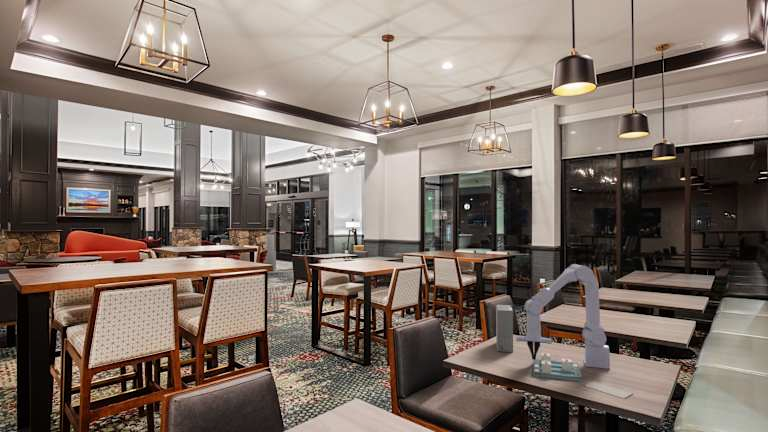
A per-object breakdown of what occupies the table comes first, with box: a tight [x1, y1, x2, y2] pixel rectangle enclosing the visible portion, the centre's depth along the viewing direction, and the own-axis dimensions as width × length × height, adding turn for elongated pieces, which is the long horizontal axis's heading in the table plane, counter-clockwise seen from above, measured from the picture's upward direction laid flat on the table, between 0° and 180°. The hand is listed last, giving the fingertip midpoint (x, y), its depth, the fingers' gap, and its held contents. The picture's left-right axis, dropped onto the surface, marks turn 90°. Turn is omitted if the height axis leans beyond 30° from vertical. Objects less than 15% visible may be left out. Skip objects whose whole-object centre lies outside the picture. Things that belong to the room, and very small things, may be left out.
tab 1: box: [540, 351, 551, 364], centre depth 179 cm, size 4×4×5 cm
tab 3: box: [561, 357, 573, 371], centre depth 172 cm, size 4×4×5 cm
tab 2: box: [542, 360, 551, 374], centre depth 169 cm, size 4×4×5 cm
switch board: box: [532, 359, 584, 383], centre depth 173 cm, size 18×17×2 cm
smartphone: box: [583, 381, 634, 400], centre depth 154 cm, size 7×1×15 cm
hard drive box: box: [495, 304, 514, 353], centre depth 207 cm, size 16×8×20 cm, turn 167°
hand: (533, 358), depth 181 cm, fingers closed
